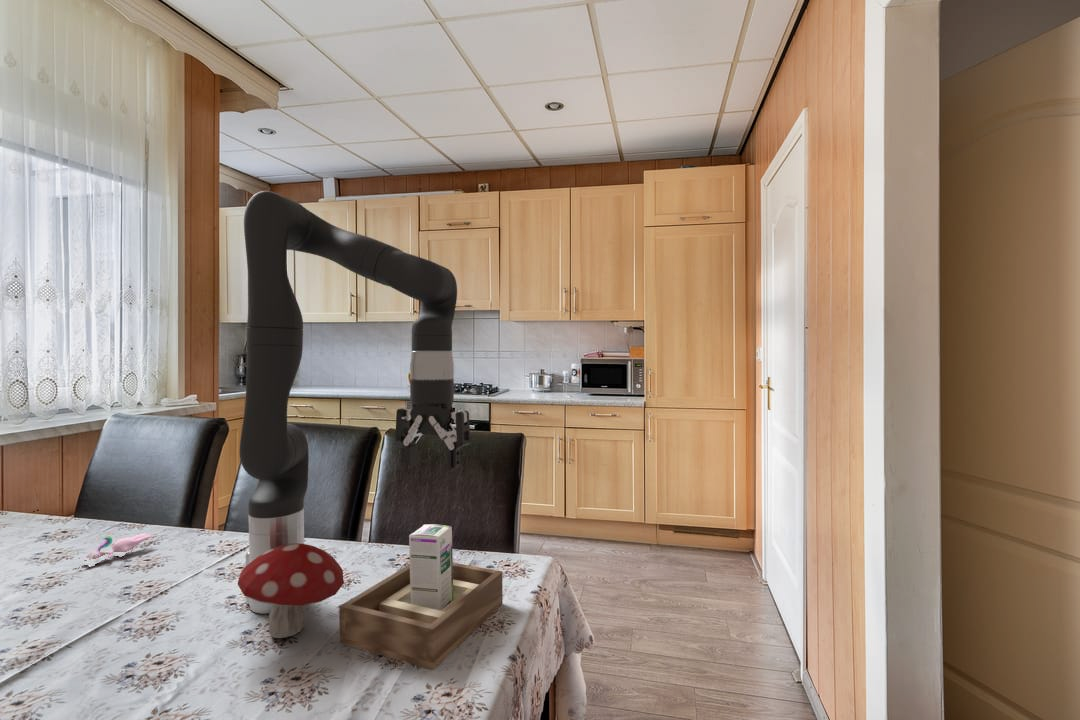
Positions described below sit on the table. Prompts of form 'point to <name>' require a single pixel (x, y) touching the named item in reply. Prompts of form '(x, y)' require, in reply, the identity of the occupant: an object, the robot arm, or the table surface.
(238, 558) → the table surface
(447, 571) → the syrup box
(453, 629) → the crate
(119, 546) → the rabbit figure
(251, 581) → the decorative mushroom
